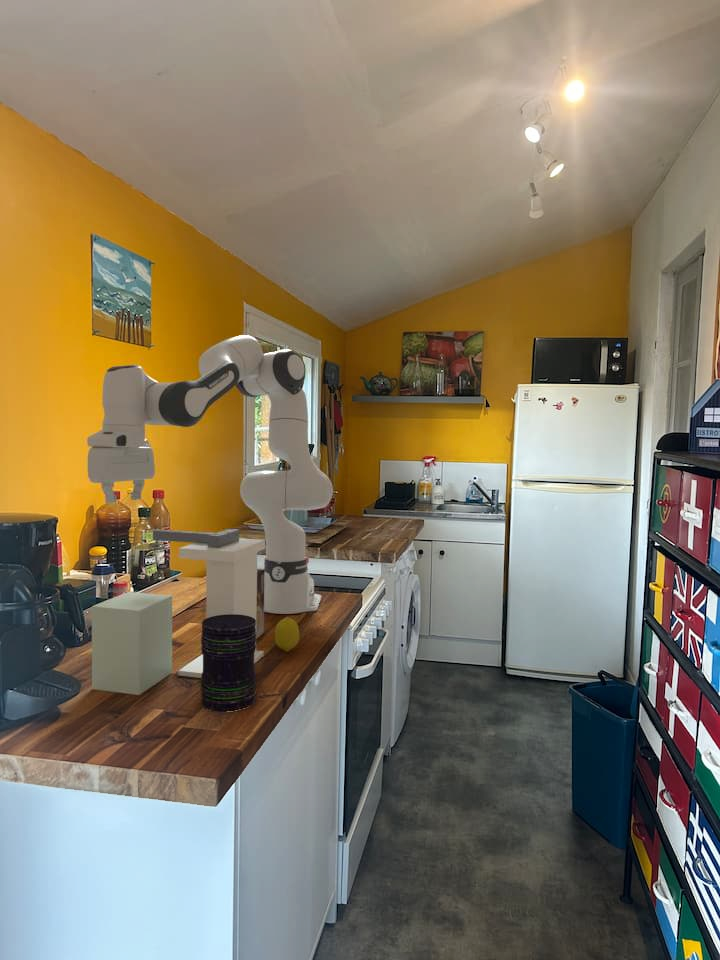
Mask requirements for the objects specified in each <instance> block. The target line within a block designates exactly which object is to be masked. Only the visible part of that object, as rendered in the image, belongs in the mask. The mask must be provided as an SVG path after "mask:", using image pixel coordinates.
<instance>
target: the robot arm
mask: <svg viewBox="0 0 720 960" xmlns="http://www.w3.org/2000/svg"><path fill="white" fill-rule="evenodd" d="M105 371H106V372H105V374H104V377H103V380H102V381H103V382H102V383H103V384H102V394H101V395H102V398H101V399H102V401H101V402H102V408H103V413H104V416H103V419H102V424H101V425H102V428H101V429H100V430H99V431H96V432H95V433H93V434H90V435H89V436H87V440H86V441H87V442H86V443H87V447H90V448H89V450H88V453H87V477H88V479H89V481H90V483H93V484H96V483H97V484H101V490H102V492H103V494H104V496H105V498H104V500H105V501H104V503H105V504H109V505H111V504H116V503H117V502H118V501H117V499H118V498H117V494H115V492H114V489H113V488H115V483H120V482H131V481H132V485H133V488H132V491H130V500H131V501H139V500H141V499H142V491H143V489H144V486H145V480H150V479H151V480H152V479H153V478H154V476H155V474H156V468H155V455H154V451H153V449H152V446H151V444H150V442H149V440H148V439H146V425H149V426H175V427H182V428H189V427H193V426H195V425H197V424H198V423H199V422H200V421H201V419H202V418H203V417H204V415H205V413H206V412H207V410H208V409H210V407H211V406H212V405H213V404H214V403H216V402H217V401H218V400H219V399H220V398H223V396H224V395H226V394H227V393H228V392H229V391H231V390H232V389H233V388H234V387H235V386H236V388H237V390H238V391H239V392H240V394H241V395H243V396H246V397H249V398H258V397H261V396H267V397H268V398H269V402H270V408H269V417H268V418H269V419H268V420H269V423H268V449H269V451H270V452H271V453H272V455H274V456H275V457H277V458H279V459H281V460H283V461H285V462H286V463H288V465H289V466H290V469H289V470H265V469H264V470H259V471H253V472H248V473H247V474H246V475H245V476H244V477H243V479H242V480H241V483H240V488H239V493H240V497H241V500H242V502H243V503H244V504H245V505H246V507H248V508H249V509H250V510H251V511H253V512H254V513H255V515H256V516H257V517H258V519H259V520H260V521H261V525H262V526H263V530H264V536H265V558H264V562H263V567H264V568H263V569H265V570H264V613H269V614H277V615H278V614H281V615H289V614H290V615H292V614H299V613H300V614H301V613H306V612H315V611H318V608H319V606H320V604H319V603H321V601H322V595H321V594H319V593H318V594H317V593H315V580H314V579H313V578H312V576H311V575H310V573H309V572H308V570H309V569H308V568H309V567H308V565H309V562H310V561H309V556H306V536H307V534H306V532H305V530H304V528H302V526H300V525H299V524H297V523H295V522H293V521H292V520H289V519H288V518H287V517H286V516H285V514H284V512H285V511H313V510H319V509H325V508H326V507H327V506H328V505H329V503H330V502H331V500H332V498H333V494H334V492H333V491H334V487H333V484H332V481H331V479H330V478H329V476H328V475H327V474H325V473H324V472H323V471H321V469H319V467H318V466H317V464H316V463H315V462H314V460H313V458H312V456H311V452H310V448H309V447H310V446H309V412H308V411H309V410H308V401H307V397H306V393H305V391H304V390H303V387H304V386H305V385H304V384H305V379H306V374H307V373H306V364H305V362H304V359H303V358H302V356H301V355H300V354H299V353H298V352H297V351H296V350H291V349H280V350H278V351H272V352H268V353H267V352H266V353H264V352H263V348H262V346H261V344H260V343H259V342H258V340H257V339H256V338H254V337H252V336H250V335H247V334H246V335H245V334H241V335H238V336H237V335H236V336H234V337H229V338H226V339H224V340H222V341H221V342H218V343H216V344H215V345H212V346H211V347H209V348H208V349H206V350H205V351H204V352H203V353H202V354H201V355H200V357H199V360H198V371H199V375H200V377H199V378H197V379H196V380H194V381H192V380H184V381H183V380H182V381H176V382H175V381H174V382H159V381H157V380H155V379H153V378H152V377H150V376H149V375H148V374H147V373H146V372H145V371H144V370H143V367H142V366H140V365H138V364H129V365H128V364H127V365H117V366H111V367H109V368H108V369H106V370H105Z"/></svg>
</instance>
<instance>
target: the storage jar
mask: <svg viewBox="0 0 720 960" xmlns="http://www.w3.org/2000/svg"><path fill="white" fill-rule="evenodd" d="M255 626H256V620H255V619H254V618H252V617H250V616H246V615H237V614H227V615H218V616H213V617H209V618H206V617H205V619H203V620H202V622H201V629H202V630H201V636H200V644H201V646H200V647H201V648H200V650H201V655H202V654H203V672H202V678H200V679H201V682H200V691H201V693H200V694H201V702H200V704H201V706H202V708H203V707H204V709H205V710H207V709H208V710H207V711H209V710H211V711H210V712H213V711H217V712H216V713H220V712H227V711H235V710H239V709H243V708H246V707H248V706H250V705H252V704H253V702H254V701H256V698H255V692H256V690H255V689H256V687H257V686H256V683H257V682H256V671H255V664H254V652H255V648H256V649H257V644H256V645H255V642H256V643H257V639H256V628H255ZM254 703H255V702H254ZM253 705H254V704H253ZM253 705H252V706H253ZM250 707H251V706H250Z"/></svg>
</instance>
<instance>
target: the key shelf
mask: <svg viewBox="0 0 720 960" xmlns="http://www.w3.org/2000/svg"><path fill="white" fill-rule="evenodd" d="M264 550H266V539H259V538H257V539H256V538H243V537H241V538H240V537H239V541H237V542H234V543H231V544H228V545H226V546H223V547H220V548H211V547H208V544H206V543H190V544H187V545H184V546H182V547H179V548H178V559H185V560H187V559H188V560H197V561H198V560H199V561H206V569H205V570H206V575H205V576H206V577H205V578H206V579H205V580H206V581H205V582H206V583H205V585H206V587H205V590H206V591H205V592H206V594H205V595H206V596H205V597H206V598H205V600H206V601H205V605H206V606H205V619H206V618H209V617H213V616H218V615H227V614H237V615H246V616H250V617H252V618H254V619H255V620H256V613H257V569H258V553H259V552H261V551H264ZM255 628H256V626H255ZM255 645H256V646H257V641H256V642H255ZM264 656H265V653H264V650H257V647H256V648H255V652H254V665H255V664H256V663H257V662H259V660H260V659H261V657H262V658H263V657H264ZM202 672H203V654H202V653H201V654H200V655H199V656H198V657H196V658H195V659H194V660H191V661H190V662H189V663H187V664H186V665H185V666H183V667H182V668H180V669H179V670H178V672H177V673H178V676H180V677H181V676H182V677H190V678H199V679H201V678H202Z"/></svg>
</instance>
